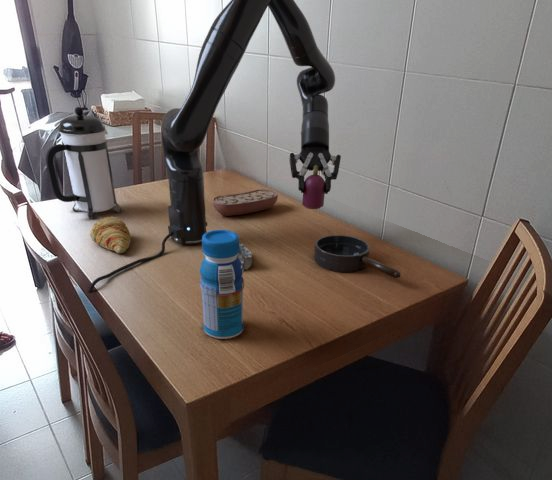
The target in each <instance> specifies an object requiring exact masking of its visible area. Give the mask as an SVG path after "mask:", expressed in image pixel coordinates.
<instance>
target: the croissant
mask: <svg viewBox="0 0 552 480" xmlns="http://www.w3.org/2000/svg"><path fill="white" fill-rule="evenodd" d="M89 236H90V239H91V240H92V241H93V242H94V243H96V244H97V246H100V247H102V248H104V249H107V250H109V251H112V252H114V253H117V254H123V253H125V252H126V251H127V250H128V249H129V247H130V245H131V240H132V238H131V233H130V229H129V228H128V226H127V224H126V223H125V221H123V220H122V219H119V218H118V217H114V216H111V215H109V216H106V217H103V218H100V219H98V220H97V221H96V222H95V223H94V224H93V226H92V227H91V230H90V233H89Z"/></svg>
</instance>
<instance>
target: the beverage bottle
mask: <svg viewBox="0 0 552 480" xmlns="http://www.w3.org/2000/svg"><path fill="white" fill-rule="evenodd" d="M239 245H240V236H239V234H238V233H237V232H235V231H232V230H228V229H213V230H209V231H207V232H206V233H205V234H204V235H203V236H202V243H201V248H202V254H203V255H204V256H205V257H204V258H203V259H202V262H201V263H200V267H199V273H200V276H201V277H200V279H199V287H200V290H201V302H202V317H203V318H202V319H203V330H204V333H205V334H206V335H208V336H209V337H211V338H214V339H220V340H229V339H232V338H236V337H238V336H240V335H241V334H242V333H243V331H244V329H245V324H244V323H245V321H244V288H245V279H244V277H243V274H244V269H243V266H242V263H241V261H240V260H239V258H238V257H237V255H238V253H239Z"/></svg>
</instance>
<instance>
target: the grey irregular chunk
mask: <svg viewBox="0 0 552 480" xmlns="http://www.w3.org/2000/svg"><path fill="white" fill-rule="evenodd" d="M237 257H238V258H239V260H240V261H241V263H242V266H243V270H249V269H250V267H251V268H252V262H253V260H252V257H253V253H252V252H251V250H249V249H248V248H247V247H246V246H245V244H243V243H239V253H238V255H237Z"/></svg>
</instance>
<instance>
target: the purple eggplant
mask: <svg viewBox="0 0 552 480" xmlns="http://www.w3.org/2000/svg"><path fill="white" fill-rule="evenodd" d="M325 195H326V194H325V178H324V177H322V176H321V175H320V174H319V171H318V166H317V165H315V166H314V169H313V170H312V174H310V175H308V176H307V177H306V178H305V179H304V193H302V200H301V201H302V204H301V205H302V206H303V207H305V209H309V210H319V209H321V208H323V207H324V204H325Z"/></svg>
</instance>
